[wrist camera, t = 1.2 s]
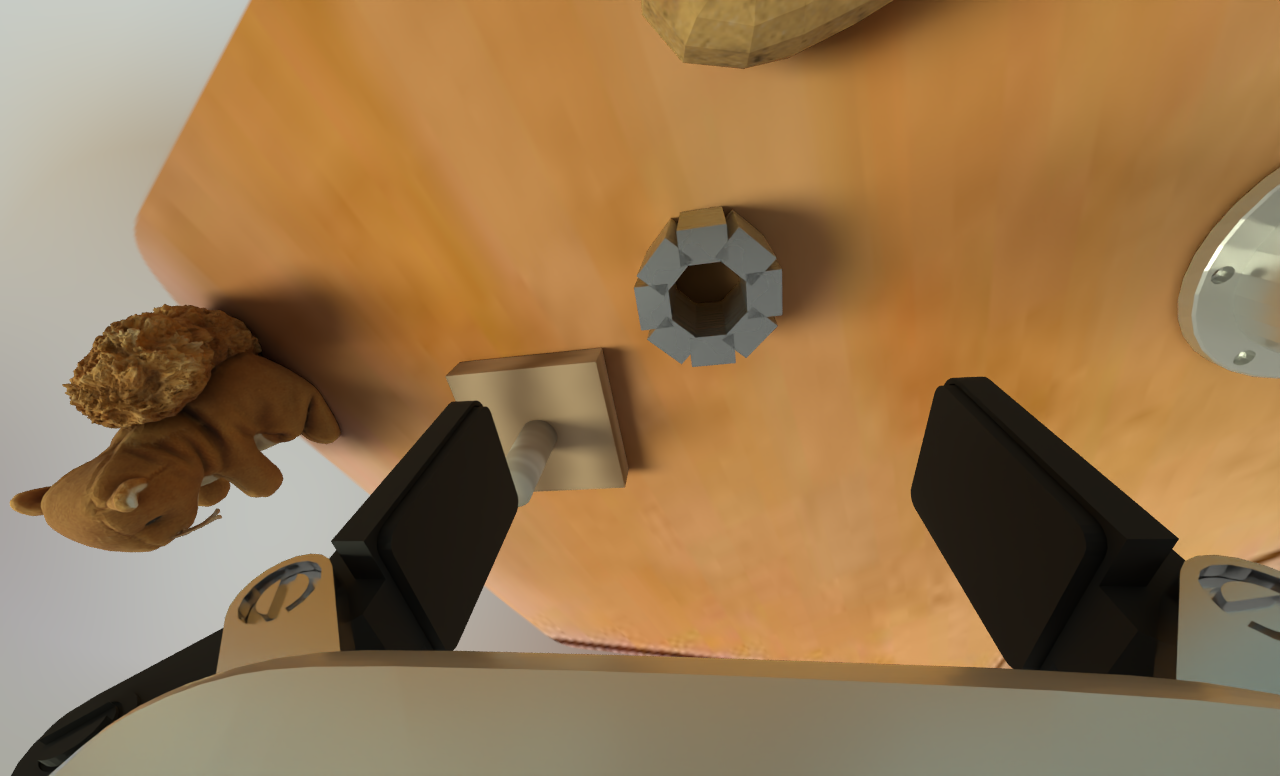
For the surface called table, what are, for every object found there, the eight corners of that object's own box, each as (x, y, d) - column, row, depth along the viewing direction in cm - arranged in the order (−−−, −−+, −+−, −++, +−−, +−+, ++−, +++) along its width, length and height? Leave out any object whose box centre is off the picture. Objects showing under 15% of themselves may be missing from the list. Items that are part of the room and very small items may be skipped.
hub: (766, 199, 23) (781, 215, 19) (769, 321, 27) (782, 358, 22) (638, 218, 25) (625, 238, 20) (656, 333, 28) (648, 370, 24)
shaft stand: (601, 347, 29) (574, 411, 22) (628, 469, 34) (612, 550, 27) (459, 362, 31) (395, 425, 24) (504, 475, 35) (461, 553, 29)
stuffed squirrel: (240, 445, 37) (40, 584, 26) (146, 275, 30) (-186, 365, 19) (353, 453, 36) (196, 602, 25) (283, 280, 29) (20, 378, 18)
